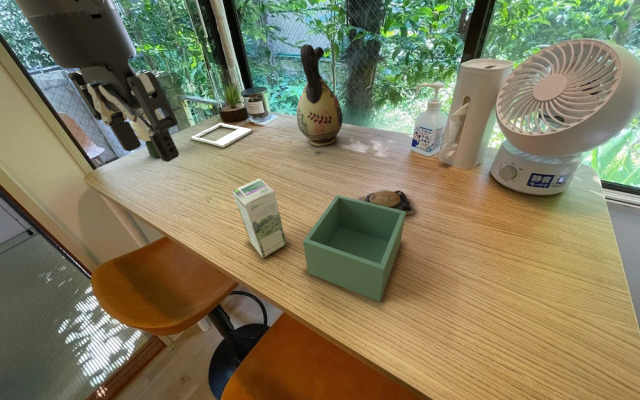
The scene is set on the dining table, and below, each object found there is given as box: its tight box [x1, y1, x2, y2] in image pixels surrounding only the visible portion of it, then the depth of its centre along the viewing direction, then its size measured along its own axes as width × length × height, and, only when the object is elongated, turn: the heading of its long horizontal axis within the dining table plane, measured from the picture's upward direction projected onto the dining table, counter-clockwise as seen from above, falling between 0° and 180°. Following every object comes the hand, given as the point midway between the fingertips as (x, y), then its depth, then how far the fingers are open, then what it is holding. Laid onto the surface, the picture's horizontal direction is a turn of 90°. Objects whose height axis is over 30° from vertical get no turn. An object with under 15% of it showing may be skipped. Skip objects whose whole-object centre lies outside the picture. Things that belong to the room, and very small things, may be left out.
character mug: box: [130, 117, 160, 158], centre depth 88 cm, size 11×7×13 cm, turn 137°
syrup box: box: [231, 178, 287, 259], centre depth 49 cm, size 6×6×14 cm
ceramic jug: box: [296, 43, 344, 147], centre depth 80 cm, size 17×15×30 cm
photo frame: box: [191, 122, 252, 148], centre depth 100 cm, size 15×1×18 cm
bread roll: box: [361, 189, 414, 216], centre depth 59 cm, size 11×8×4 cm
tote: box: [302, 194, 407, 303], centre depth 46 cm, size 14×14×9 cm
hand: (151, 153), depth 35 cm, fingers open, 8 cm apart
